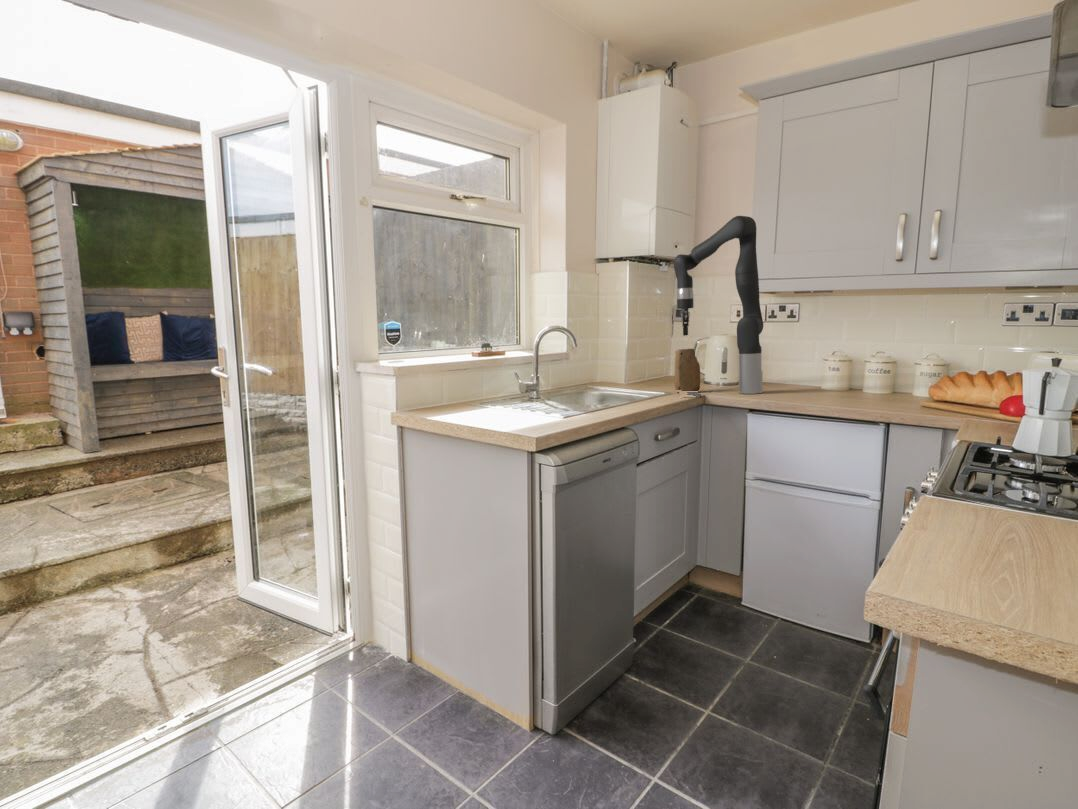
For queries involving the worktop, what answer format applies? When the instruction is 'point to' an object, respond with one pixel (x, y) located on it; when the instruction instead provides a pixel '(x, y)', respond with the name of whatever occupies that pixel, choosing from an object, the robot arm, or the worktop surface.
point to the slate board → (694, 394)
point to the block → (686, 370)
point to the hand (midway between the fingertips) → (685, 335)
